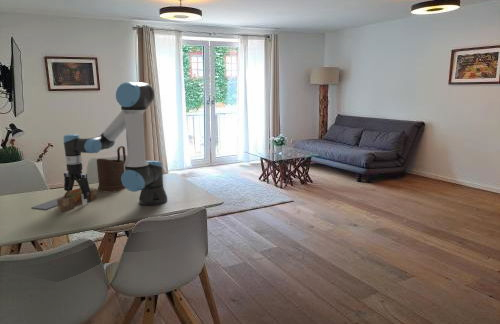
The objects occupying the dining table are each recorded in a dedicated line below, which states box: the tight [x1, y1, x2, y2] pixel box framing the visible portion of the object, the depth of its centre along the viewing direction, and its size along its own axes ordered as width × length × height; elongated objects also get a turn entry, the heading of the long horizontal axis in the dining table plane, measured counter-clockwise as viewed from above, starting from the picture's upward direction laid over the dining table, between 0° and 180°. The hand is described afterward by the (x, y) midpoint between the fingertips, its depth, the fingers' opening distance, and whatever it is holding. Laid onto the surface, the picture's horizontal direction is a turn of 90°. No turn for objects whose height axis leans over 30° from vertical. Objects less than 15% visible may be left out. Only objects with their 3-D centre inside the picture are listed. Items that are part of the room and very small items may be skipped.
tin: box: [63, 187, 90, 207], centre depth 199 cm, size 15×3×8 cm, turn 149°
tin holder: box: [56, 187, 98, 212], centre depth 198 cm, size 6×23×6 cm, turn 161°
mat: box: [31, 195, 64, 211], centre depth 202 cm, size 10×24×1 cm, turn 161°
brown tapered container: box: [96, 145, 127, 193], centre depth 231 cm, size 18×24×25 cm
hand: (78, 203), depth 199 cm, fingers open, 8 cm apart
